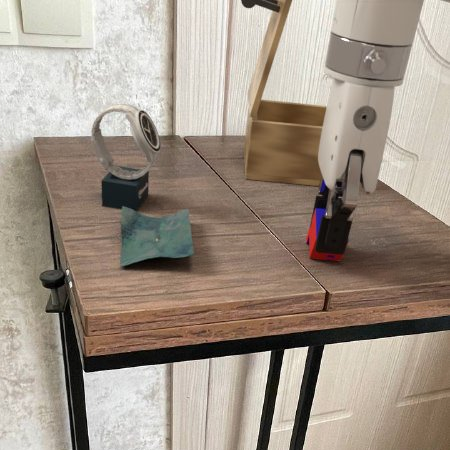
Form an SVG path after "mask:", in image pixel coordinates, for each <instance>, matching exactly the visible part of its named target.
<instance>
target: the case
mask: <svg viewBox="0 0 450 450" xmlns="http://www.w3.org/2000/svg"><path fill="white" fill-rule="evenodd" d="M326 108H327V105H320V104H310V103H301V102H290V101H281V100H270V99H262V98H261V101H260V105H259V108H258V111H257V114H256V117H255V118H253V117H250V114H249V108H248V110H247V119H246V129H245V136H244V145H243V146H244V147H243V161H244V178H245V180H249V181H261V182H272V183H282V184H292V185H304V186H312V187H313V186H314V187H319V183H320V179H321V175H322V173H321V170H320V167H319V163H318V152H319V145H320V139H321V133H322V128H323V123H324V117H325V113H326Z"/></svg>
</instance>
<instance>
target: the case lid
mask: <svg viewBox="0 0 450 450" xmlns="http://www.w3.org/2000/svg"><path fill="white" fill-rule="evenodd" d="M240 2H241V5H242V6H243V7H244V8H246V9H252V8H254V7H255V6H258V7H261V8H263V9H267V10H269V11H271V15H270V17H269V22H268V24H267V27H266V31H265V34H264V37H263V41H262V44H261V48H260V50H259V55H258V58H257V62H256V64H255V67H254V70H253V74H252V78H251V81H250V84H249V86H248V87H249V88H248V91H247V103H248V109H249V114H250V117H253V118H255V117H256V114H257V111H258V108H259V105H260V101H261V99H262V98H263V94H264V92H265V89H266V86H267V82H268V79H269V76H270V72H271V70H272V67H273V63H274V60H275V57H276V53H277V50H278V48H279V44H280V41H281V38H282V35H283V31H284V29H285V25H286V23H287V19H288V16H289V12H290V9H291V6H292V3H293V0H240Z"/></svg>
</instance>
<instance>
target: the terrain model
mask: <svg viewBox="0 0 450 450" xmlns="http://www.w3.org/2000/svg"><path fill="white" fill-rule="evenodd" d="M120 216H121V217H120V231H121V233H120V235H121V247H120V261H119V267H124V266H128V265H131V264H135V263H138V262H141V261H144V260H148V259H154V258H171V259H176V258H178V259H179V258H185V257H186V258H187V257H189V256H192V255H194V253H195V252H194V244H193V243H194V242H193V237H192V228H191V219H190V210H189V208H186V209H182V210H179V211H178V212H176V213H174V214H172V215H171V214H170V215H165V216H162V217H156V216H148V215H145V214H142V213H140V212H138V211H135V210H132V209H130V208H127V207H124V206H122V209H121V214H120Z"/></svg>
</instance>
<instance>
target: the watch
mask: <svg viewBox="0 0 450 450" xmlns="http://www.w3.org/2000/svg"><path fill="white" fill-rule="evenodd" d="M114 112H115V113H121V114H124V116H125V118H126V120H127V121H128V123H129V127H130V132H131V134H132V137H133V140H134V142H135V144H136V145H137V147H138V148H139V150H140V151H141V152H142V153H143V154H145V157H146V160H147V162H148V165H147V166H145V167H144V168H143V169H140V168H135V167H134V168H133V167H127V166H120V165H117V164H116V163H115V162H114V161H115V159H114V158H113V156H112V154H111V152H110V151H109V149H108V146H107V144H106V142H105V138H104V135H102V129H101V122H102V120H103V118H104V117H105V116H106V115H107V114H110V113H114ZM90 142H91V145H92V148H93V151H94V153H95V155H96V157H97V159H98V161H99V163H100V164H101V166H102V167H103V169H104V170H105V171H108V173H107V174H106V175H105V176H104V177H103V178H102V179H101V180H100V181H101V183H100V184H101V206H102V207H106V208H112V209H120V210H122V206H124V207H127V208H130V209H132V210H135V211H136V212H138V210H139V209H140V207H141V206H142V205H143V203H144V202H145V201H146V199H147V197H148V196H149V181H150V180H149V178H150V177H149V174H150V173H149V171H150V169H151V168H152V167H153V165H154V164H155V163H156V161H157V159H158V156H159V153H160V151H161V148H162V147H161V146H162V145H161V139H160V134H159V131H158V129H157V127H156V124H155V123H154V121H153V119H152V118H151V116H150V115H149V114H148V113H147V112H146V111H145V110H144V109H139V108H138V107H137V106H134V105H131V104H128V103H118V104H112V105H111V106H109V107H107V108H106V109H105V110H103V111H102V112H101V113H100V114H99V115H98V116H96V118H95V119H94V121H93V123H92V128H91V138H90Z"/></svg>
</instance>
